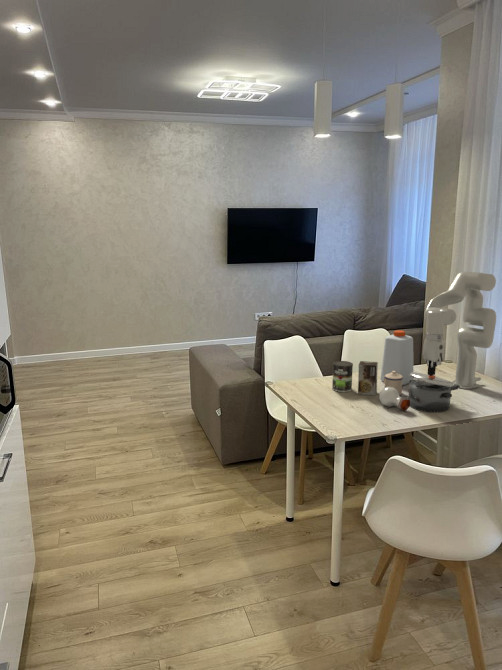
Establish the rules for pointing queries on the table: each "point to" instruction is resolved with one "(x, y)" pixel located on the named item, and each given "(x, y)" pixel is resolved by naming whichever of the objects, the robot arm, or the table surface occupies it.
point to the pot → (430, 396)
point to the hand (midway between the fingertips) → (431, 374)
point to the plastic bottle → (398, 356)
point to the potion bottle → (393, 398)
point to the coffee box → (367, 378)
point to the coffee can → (342, 376)
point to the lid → (431, 379)
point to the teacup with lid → (394, 381)
